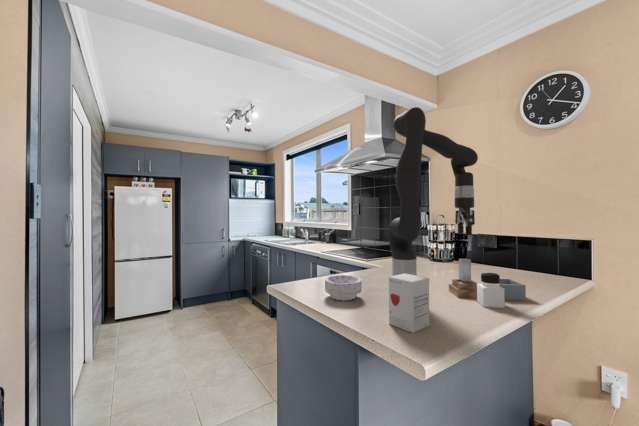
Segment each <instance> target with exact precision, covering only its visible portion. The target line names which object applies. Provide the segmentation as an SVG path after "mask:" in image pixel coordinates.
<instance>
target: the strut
mask: <svg viewBox="0 0 639 426" xmlns="http://www.w3.org/2000/svg"><path fill="white" fill-rule="evenodd" d="M458 279H459V283H471V280H472V259H468V258H458Z"/></svg>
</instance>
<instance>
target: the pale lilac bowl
mask: <svg viewBox="0 0 639 426" xmlns="http://www.w3.org/2000/svg"><path fill="white" fill-rule="evenodd" d="M362 281H363V280H362V279H361V278H360V277H358V276H357V275H356V276H355V275H349V274H336V275H330V276H327V277H325V279H324V291H325V293H327V294H328V295H329V296H330V298H331V299H333V300H335V299H336V301H339V300H342V301H341V302H347V300H349V301H352V299H353V300H355V299H356V298H357V296H358V294H360V293H362Z"/></svg>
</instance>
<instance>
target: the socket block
mask: <svg viewBox="0 0 639 426" xmlns="http://www.w3.org/2000/svg"><path fill="white" fill-rule="evenodd" d="M477 284H479V283H478V282H476V281H474V280H472V279H471V283H459V278H458V279H455V278H452V279H451V283H448V292H449V293H451V294H452V295H453V296H454V297H456V298H469V299H471V298H472V299H474V298H475V299H477Z"/></svg>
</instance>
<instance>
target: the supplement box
mask: <svg viewBox="0 0 639 426" xmlns="http://www.w3.org/2000/svg"><path fill="white" fill-rule="evenodd" d="M388 324H389V325H391V326H394V327H397V328H399V329H402V330H404V331H407V332H410V333H412V334H414V333H416V332H418V331H420V330H423V329H425V328H427V327H429V326H430V277H427V276H421V275H411V274H406V273H404V274H400V275H395V276H392V275H391V276H388Z"/></svg>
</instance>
